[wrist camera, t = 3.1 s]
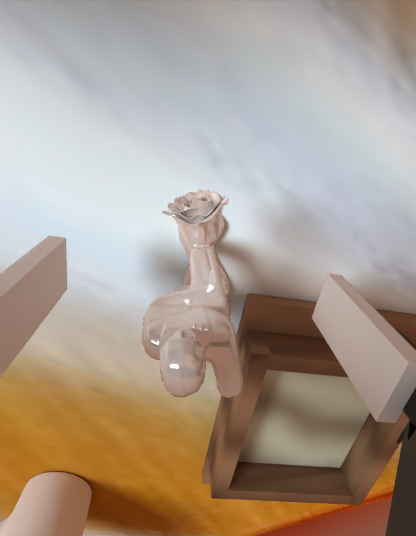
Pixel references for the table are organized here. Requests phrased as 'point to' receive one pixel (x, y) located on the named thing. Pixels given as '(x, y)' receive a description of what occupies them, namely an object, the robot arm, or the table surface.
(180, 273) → the table surface
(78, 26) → the table surface
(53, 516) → the mug
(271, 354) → the brown picture frame
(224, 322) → the figurine
